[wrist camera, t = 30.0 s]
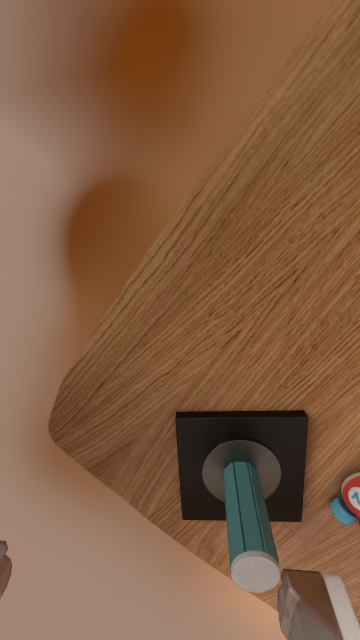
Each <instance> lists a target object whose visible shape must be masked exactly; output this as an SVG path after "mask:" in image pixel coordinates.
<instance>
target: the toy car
mask: <svg viewBox="0 0 360 640" xmlns="http://www.w3.org/2000/svg"><path fill="white" fill-rule="evenodd" d="M341 494H342V497H343V498H340V497H337V498H335V499H334V500H333V501H332V502H331V504H330V510H331V512H332V514H333V515H334V516H335V517H336V518H337V519H338V520H339V521H340V522H341V523H343V524H344V525H351V524H352V523H353V522H354V521H355V520H356V518H357V517H359V520H358V521H359V524H360V472H358V473H354V474H352V475H350V476H348V477H347V478H346V479H345V480H344V482H343V484H342V487H341Z"/></svg>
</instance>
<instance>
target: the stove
mask: <svg viewBox="0 0 360 640" xmlns="http://www.w3.org/2000/svg"><path fill="white" fill-rule="evenodd" d="M175 419H176V433H177V448H178V462H179V476H180V491H181V505H182V519H183V520H222V521H227V520H226V508H225V495H224V483H223V471H224V469H225V468H226V467H227V466H228V465H230V464H231V463H232V462H233V463H234V462H247V463H248V462H249V463H250V464H251V465H252V466H254V467H255V468H256V469H257V471H258V474H259V478H260V482H261V487H262V491H263V495H264V500H265V504H266V508H267V513H268V517H269V521H277V522H302V508H303V491H304V474H305V458H306V441H307V425H308V416H307V415H306V413H305V411H304V410H301V411H211V412H176V418H175Z"/></svg>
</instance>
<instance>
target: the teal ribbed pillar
mask: <svg viewBox="0 0 360 640" xmlns="http://www.w3.org/2000/svg"><path fill="white" fill-rule="evenodd" d="M223 483H224V495H225V508H226V520H227V532H228V544H229V556H230V568H231V575H232V579H233V581H234V582H235V584H236V585H237V586H238V587H240V588H241V589H243V590H246V591H249V592H255V593H258V592H265V591H268V590H270V589H272V588H274V587H275V586H276V585H277V584H278V582H279V580H280V569H279V560H278V556H277V551H276V547H275V543H274V538H273V534H272V530H271V525H270V521H269V517H268V513H267V508H266V504H265V500H264V495H263V491H262V487H261V482H260V478H259V474H258V471H257V469H256V468H255V467H254V466H252V465H251V464H250V463H249V462H248V463H247V462H234V463H233V462H232V463H231V464H230V465H228V466H227V467H226V468H225V469H224V471H223Z"/></svg>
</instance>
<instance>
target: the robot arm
mask: <svg viewBox="0 0 360 640" xmlns="http://www.w3.org/2000/svg"><path fill="white" fill-rule="evenodd" d="M7 550H8V547H7V544H6V541H0V598H1V597H2V595H3V593H4V591H5V589H6V587H7V585H8V582H9V578H10V575H11V569H12V564H11V559H10V558H9V557H8V556H7V555H6V554H5V553H6V551H7ZM281 580H282V586H280V587H279V590H278V613H279V621H280V627H281V631H282V633H283V634H284V635H285V637H286V638H287V640H360V623H359V621H358V618H357V615H356V613H355V610H354V607H353V605H352V602H351V599H350V597H349V594H348V591H347V589H346V586H345V583H344V581H343V579H342V578H341V576H340V575H338V574H333V573H321V572H315V571H302V570H290V569H283V570H282V574H281Z"/></svg>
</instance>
